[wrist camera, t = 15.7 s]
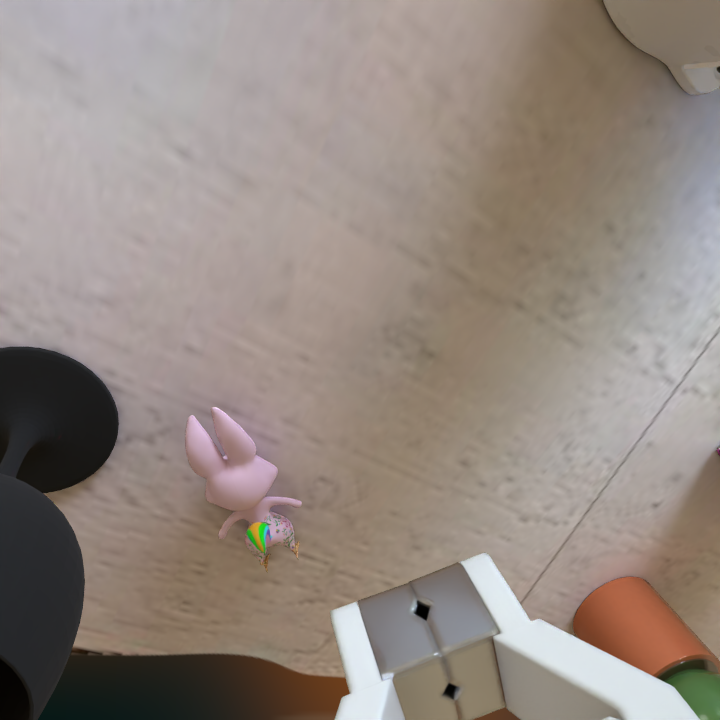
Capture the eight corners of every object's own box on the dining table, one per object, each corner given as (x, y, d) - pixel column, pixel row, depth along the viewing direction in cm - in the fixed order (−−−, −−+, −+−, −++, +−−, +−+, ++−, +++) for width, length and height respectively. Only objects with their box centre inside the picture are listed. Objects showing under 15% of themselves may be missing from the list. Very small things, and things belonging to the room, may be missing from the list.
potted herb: (653, 563, 59) (811, 729, 44) (654, 624, 63) (798, 795, 48) (569, 597, 58) (701, 778, 43) (575, 657, 62) (698, 841, 47)
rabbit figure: (313, 518, 48) (246, 377, 39) (331, 581, 43) (260, 437, 34) (238, 549, 47) (152, 413, 38) (248, 616, 43) (154, 479, 34)
